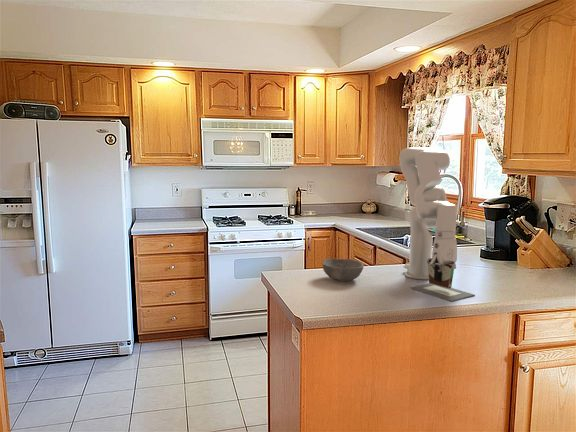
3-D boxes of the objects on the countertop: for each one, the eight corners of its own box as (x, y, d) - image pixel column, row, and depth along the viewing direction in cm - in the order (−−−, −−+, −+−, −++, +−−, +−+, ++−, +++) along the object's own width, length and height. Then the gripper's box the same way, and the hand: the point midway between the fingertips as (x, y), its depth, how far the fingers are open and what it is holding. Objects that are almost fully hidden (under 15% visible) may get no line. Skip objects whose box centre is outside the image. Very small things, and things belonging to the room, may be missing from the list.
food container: (461, 287, 181) (463, 262, 180) (452, 289, 178) (453, 264, 176) (435, 280, 191) (436, 256, 190) (425, 282, 188) (426, 258, 186)
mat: (410, 288, 189) (410, 286, 189) (433, 283, 197) (433, 282, 197) (451, 301, 173) (451, 300, 172) (474, 295, 180) (474, 294, 180)
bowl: (362, 287, 190) (362, 268, 189) (319, 284, 193) (319, 265, 192) (363, 276, 207) (364, 258, 206) (324, 273, 211) (325, 256, 210)
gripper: (438, 238, 174) (436, 285, 176) (467, 234, 183) (464, 279, 185) (422, 235, 180) (420, 280, 182) (451, 231, 189) (448, 275, 192)
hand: (442, 279), depth 184 cm, fingers closed on food container, 5 cm apart
